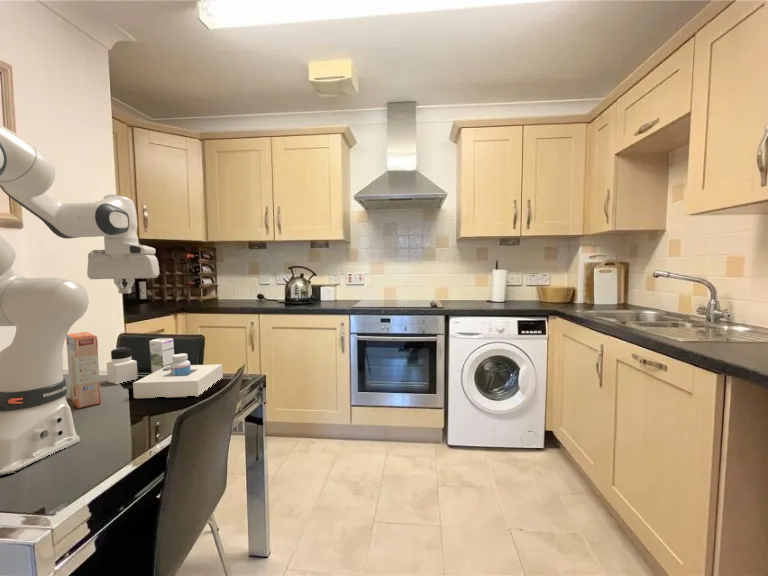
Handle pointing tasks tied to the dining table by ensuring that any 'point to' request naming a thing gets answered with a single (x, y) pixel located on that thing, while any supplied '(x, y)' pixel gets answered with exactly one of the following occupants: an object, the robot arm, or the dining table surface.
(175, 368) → the pill bottle
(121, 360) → the medicine bottle
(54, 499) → the dining table surface
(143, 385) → the socket block
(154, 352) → the syrup box
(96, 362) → the cracker box
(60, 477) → the dining table surface
